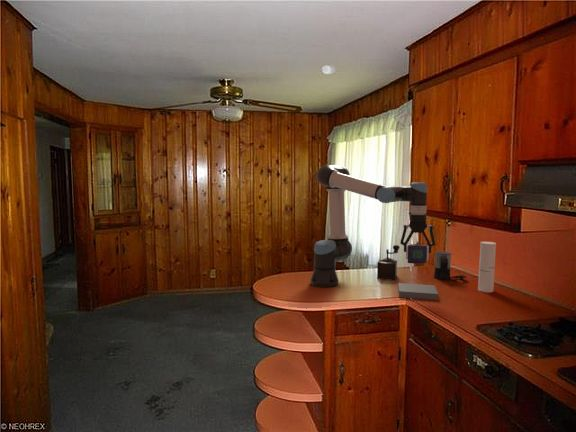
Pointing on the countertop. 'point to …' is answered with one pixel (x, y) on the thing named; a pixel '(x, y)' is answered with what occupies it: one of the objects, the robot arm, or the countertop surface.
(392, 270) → the coffee grinder
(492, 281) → the cylindrical container
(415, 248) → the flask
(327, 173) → the robot arm
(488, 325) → the countertop surface
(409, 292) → the base board
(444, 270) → the milk frother
